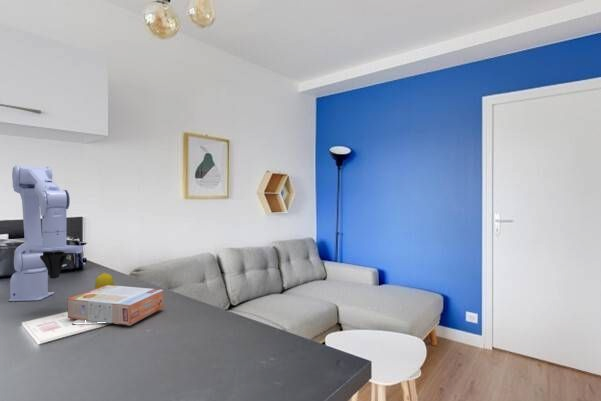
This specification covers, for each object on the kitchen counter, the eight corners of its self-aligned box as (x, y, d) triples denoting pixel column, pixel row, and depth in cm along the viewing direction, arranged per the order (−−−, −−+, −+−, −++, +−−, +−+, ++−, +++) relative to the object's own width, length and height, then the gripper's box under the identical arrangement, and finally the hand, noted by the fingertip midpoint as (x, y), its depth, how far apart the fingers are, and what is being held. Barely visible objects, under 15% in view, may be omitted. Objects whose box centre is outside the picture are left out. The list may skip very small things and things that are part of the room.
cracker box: (66, 319, 93) (129, 326, 87) (66, 297, 92) (129, 303, 87) (108, 303, 106) (164, 308, 101) (107, 284, 106) (164, 288, 101)
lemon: (107, 298, 112) (107, 274, 112) (91, 298, 112) (91, 274, 112) (117, 293, 117) (117, 270, 117) (101, 293, 118) (101, 270, 117)
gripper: (17, 233, 93) (17, 281, 93) (73, 232, 95) (73, 280, 95) (34, 230, 100) (34, 275, 100) (86, 230, 102) (86, 274, 102)
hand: (54, 277), depth 98 cm, fingers closed
